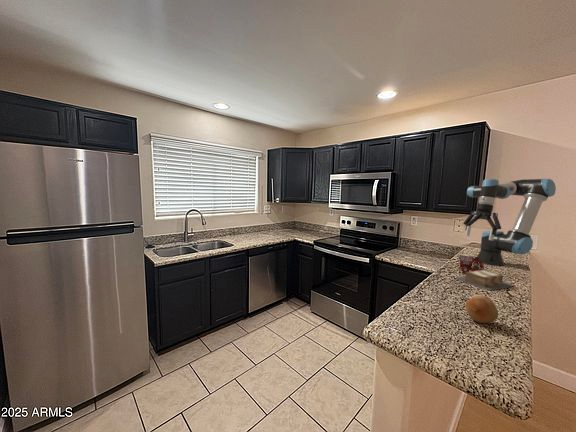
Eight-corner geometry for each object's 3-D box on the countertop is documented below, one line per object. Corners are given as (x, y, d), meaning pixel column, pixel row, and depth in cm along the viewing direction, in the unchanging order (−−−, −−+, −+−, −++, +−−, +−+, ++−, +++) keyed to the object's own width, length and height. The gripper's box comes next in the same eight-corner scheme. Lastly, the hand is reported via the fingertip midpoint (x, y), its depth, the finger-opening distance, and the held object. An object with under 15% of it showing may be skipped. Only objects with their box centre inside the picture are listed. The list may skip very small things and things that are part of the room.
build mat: (478, 275, 147) (478, 274, 147) (514, 286, 130) (514, 285, 130) (455, 278, 141) (455, 277, 141) (489, 290, 124) (489, 289, 124)
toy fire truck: (483, 275, 144) (483, 258, 144) (458, 272, 152) (458, 255, 152) (483, 273, 149) (484, 256, 149) (459, 270, 157) (459, 254, 157)
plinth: (482, 278, 141) (482, 269, 140) (501, 284, 132) (502, 275, 131) (465, 280, 136) (466, 271, 136) (484, 287, 127) (485, 277, 126)
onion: (465, 312, 101) (467, 289, 100) (496, 320, 95) (499, 296, 94) (463, 321, 93) (465, 297, 92) (497, 331, 87) (500, 305, 86)
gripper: (461, 202, 159) (454, 233, 160) (505, 204, 136) (497, 241, 137) (468, 204, 162) (462, 235, 163) (513, 206, 138) (505, 242, 139)
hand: (478, 238), depth 150 cm, fingers open, 13 cm apart
